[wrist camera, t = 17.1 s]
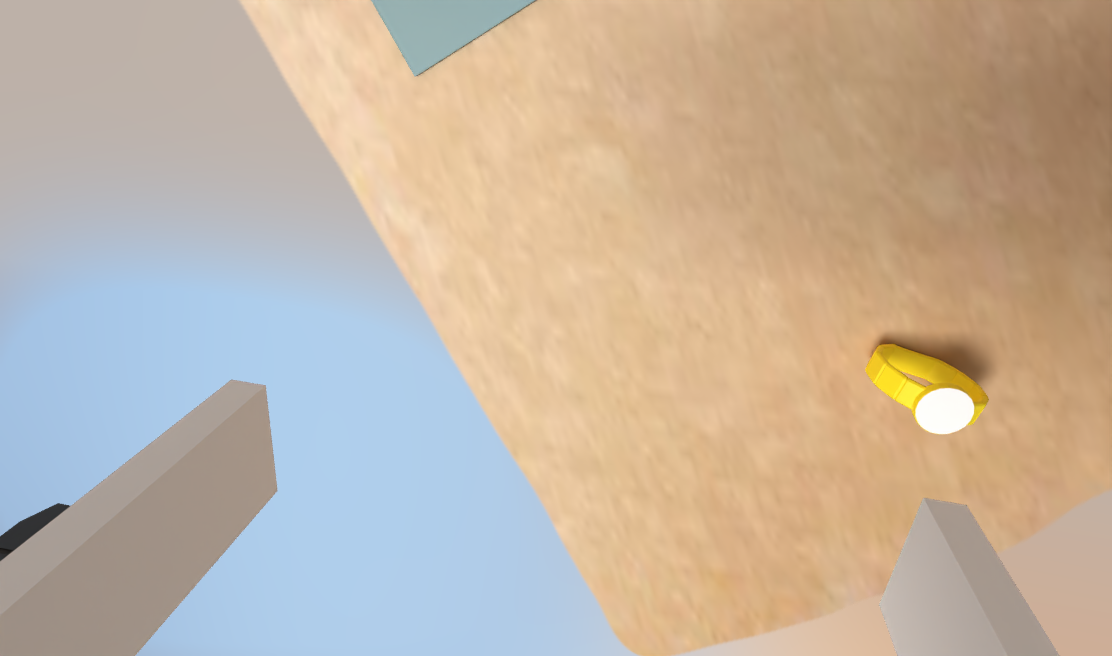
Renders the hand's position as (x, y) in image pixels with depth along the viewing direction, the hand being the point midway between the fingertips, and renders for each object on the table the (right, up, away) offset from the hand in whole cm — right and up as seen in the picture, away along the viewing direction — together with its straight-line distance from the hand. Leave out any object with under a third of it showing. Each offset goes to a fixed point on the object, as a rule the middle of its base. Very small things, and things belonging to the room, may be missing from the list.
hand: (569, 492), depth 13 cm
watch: (+21, +1, +26) cm, 33 cm away
